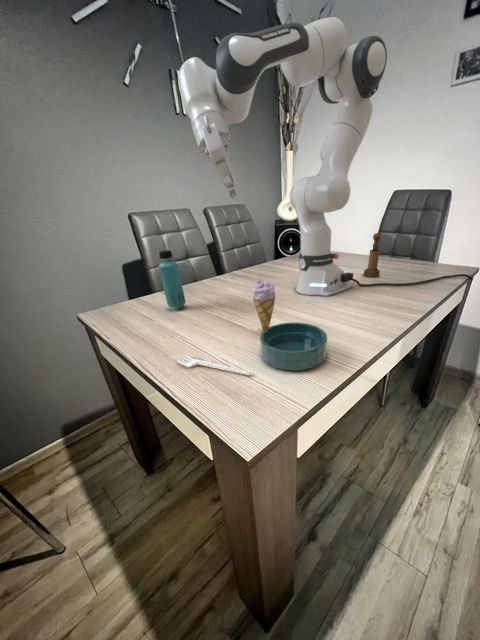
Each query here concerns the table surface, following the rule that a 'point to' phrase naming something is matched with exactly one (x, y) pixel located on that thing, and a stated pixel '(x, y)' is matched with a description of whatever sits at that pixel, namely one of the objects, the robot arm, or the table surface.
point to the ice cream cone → (264, 301)
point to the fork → (206, 364)
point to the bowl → (293, 346)
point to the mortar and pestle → (373, 259)
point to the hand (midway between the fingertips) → (231, 191)
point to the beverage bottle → (171, 280)
